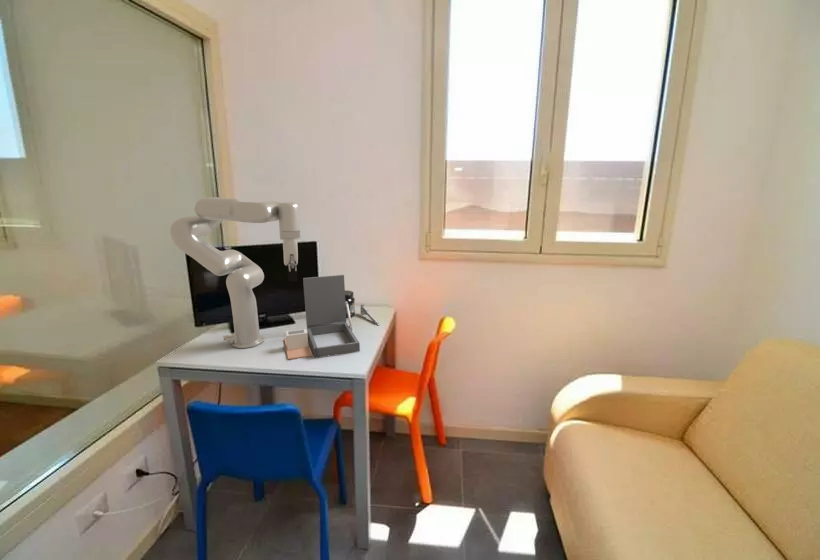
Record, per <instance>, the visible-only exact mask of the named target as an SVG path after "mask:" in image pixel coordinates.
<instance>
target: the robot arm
mask: <svg viewBox="0 0 820 560" xmlns="http://www.w3.org/2000/svg"><path fill="white" fill-rule="evenodd" d="M193 209H194V212H195V214H196V215H191V216H184V217H180V218H177V219H176V220H175V221H173V222H172V223H171V226H170V229H169V233H170V236H171V237H170V238H171V240H172V242H173V243H174V245H175V246H176V247H177V248H178V249H179V250H181V251H182V252H183V253H184V254H185V255H187V256H189V257H190V258H192V259H193V260H195V261H196V262H197V263H198V264H200V265H201V266H202V267H204V268H205V269H206V270H207V271H210V272H211V273H212V274H213V275H215V276H218V277H221V276H226V275H227V277H226V280H225V284H226V288H227V291H228V295H229V298H230V299H229V300H230V305H231V312H232V314H231V315H232V320H233V321H232V322H233V330H234V332H233V333H231V335H223V337H222V338H223V341H226V342H231V346H232V347H234V348H236V349H237V348H238V349H247V348H253V347H257V346H259V345H262V344H263V343H264V341H265V338H264V335H260V326H259V325H260V324H259V316H258V315H259V314H258V306H257V299H256V295H255V293H254V291H253V289H254V288H256V287H257V286H259V285H262V283H263V281H264V279H265V274H264V272H263V269H262V268H261V267H260V266H259V265H258V264H257V263H255V262H253V261H252V260H251V259H250V258H248V257H247V256H246V255H244V254H243V253H242V252H240V251H238V250H235V249H225V250H219V249H217V248H216V247H215V246H213V245H212V244H210V243H209V242H208V241H206V240H204V239H201V238H199V237H204V236H207V235H209V234H211V233H212V232H213V231H214V230H216V229H217V228H218V226H219V225H220V224H221V223H222V222H223V221H228V222H230V221H231V222H238V223H248V224H252V223H253V224H265V223H269V222H270V223H271V222H276V221H278V229H279V239H280V240H281V241H282V250H283V251H282V253H283V264H284V265H285V266H286V269H287V276H288V282H297V281H299V280H298V270H297V265H298V263H299V261H298V260H299V253H298V252H299V250H298V249H299V248H298V240H300V239H301V229H300V228H301V227H300V212H299V211H300V208H299V205H298V203H296V202H280V201H279V202H278V201H274V200H273V201H262V202H254V201H253V202H250V201H249V202H248V201H239V199H236V198H222V197H218V196H216V197H215V196H214V197H202V198H200V199H198V200H197V201H196V202H195V204H194V208H193Z"/></svg>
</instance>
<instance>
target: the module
mask: <svg viewBox="0 0 820 560" xmlns="http://www.w3.org/2000/svg"><path fill="white" fill-rule="evenodd" d="M285 338H286V341H287V348H288V350H291V349H298V348H305V347H308V343H309V338H308V334H307V328H303V329H296V330H295V329H294V330H286V331H285Z"/></svg>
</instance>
